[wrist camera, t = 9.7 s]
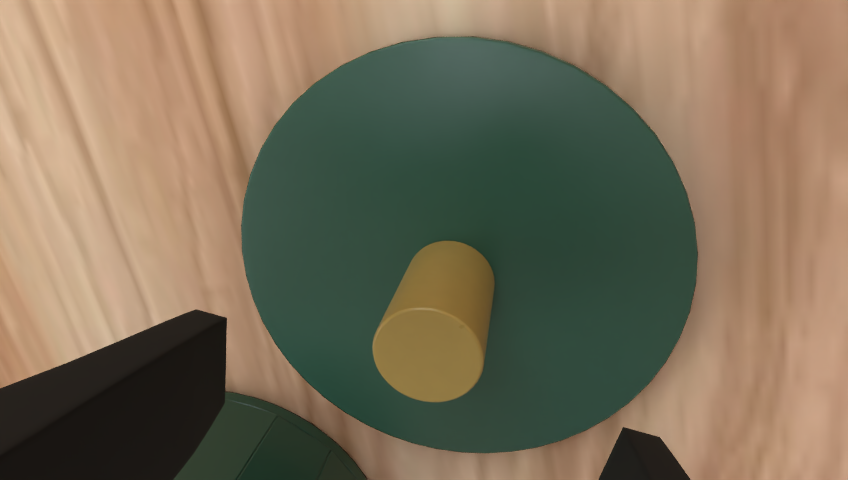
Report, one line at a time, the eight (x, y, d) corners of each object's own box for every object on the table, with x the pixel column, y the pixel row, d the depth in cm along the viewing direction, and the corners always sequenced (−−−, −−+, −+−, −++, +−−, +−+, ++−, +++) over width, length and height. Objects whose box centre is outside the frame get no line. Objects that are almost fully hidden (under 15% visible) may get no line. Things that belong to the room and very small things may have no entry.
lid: (772, 94, 12) (910, 135, 7) (598, 471, 17) (621, 621, 13) (270, -10, 13) (143, -25, 9) (250, 371, 18) (165, 478, 14)
